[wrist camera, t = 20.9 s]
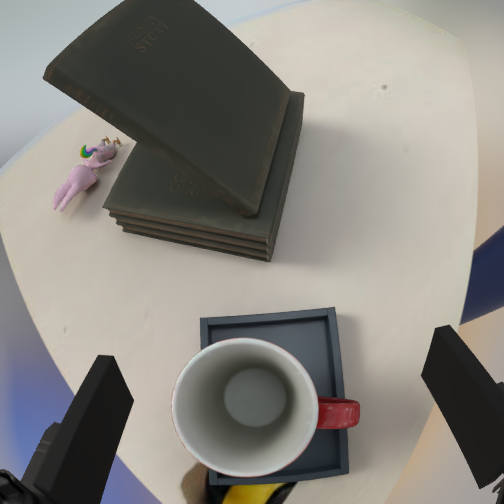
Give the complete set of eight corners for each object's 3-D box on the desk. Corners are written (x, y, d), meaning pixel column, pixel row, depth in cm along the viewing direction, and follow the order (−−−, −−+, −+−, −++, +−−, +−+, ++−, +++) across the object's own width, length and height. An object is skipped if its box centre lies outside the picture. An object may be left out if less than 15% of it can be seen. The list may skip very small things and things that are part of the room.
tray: (330, 312, 33) (334, 306, 30) (343, 467, 26) (349, 473, 23) (204, 322, 33) (199, 317, 30) (214, 477, 26) (210, 485, 23)
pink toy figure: (104, 148, 46) (50, 213, 39) (94, 121, 41) (32, 186, 34) (131, 152, 45) (75, 223, 38) (122, 123, 40) (57, 195, 33)
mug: (202, 429, 28) (159, 458, 15) (219, 347, 31) (185, 324, 19) (324, 447, 26) (360, 488, 14) (339, 365, 30) (385, 353, 17)
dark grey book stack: (270, 263, 35) (267, 63, 12) (122, 231, 38) (11, 86, 15) (302, 124, 44) (312, -31, 21) (183, 111, 47) (146, -24, 24)
